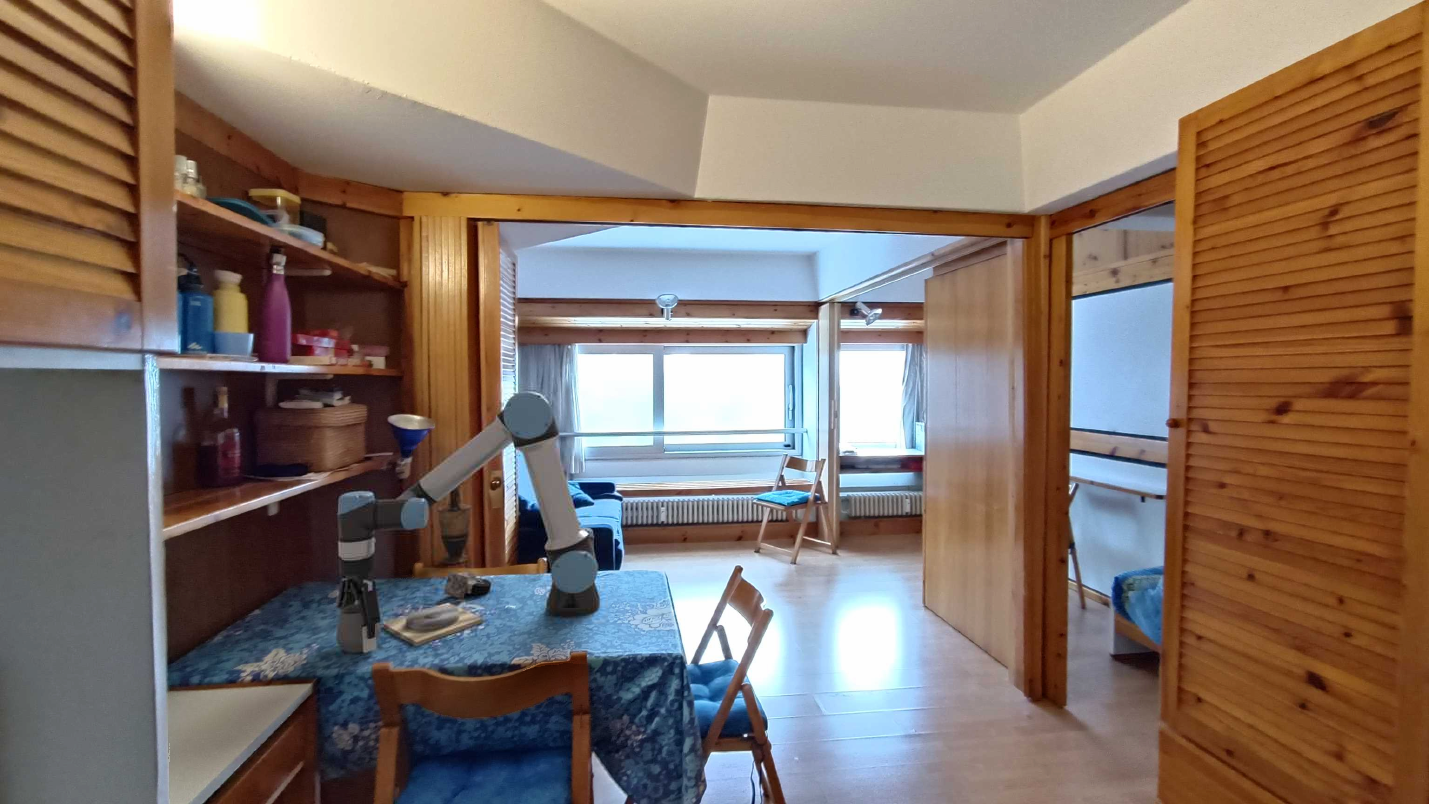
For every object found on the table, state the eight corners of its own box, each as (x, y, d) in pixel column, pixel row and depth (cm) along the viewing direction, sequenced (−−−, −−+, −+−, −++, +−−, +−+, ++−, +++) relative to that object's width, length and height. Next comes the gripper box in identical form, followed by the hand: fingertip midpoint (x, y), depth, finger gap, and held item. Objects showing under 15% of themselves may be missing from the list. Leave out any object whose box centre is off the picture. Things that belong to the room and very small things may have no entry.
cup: (333, 660, 140) (332, 618, 139) (340, 643, 148) (339, 604, 148) (379, 653, 144) (378, 612, 143) (383, 637, 152) (382, 599, 152)
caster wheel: (492, 597, 187) (476, 604, 177) (460, 587, 189) (442, 594, 179) (498, 576, 188) (481, 582, 178) (465, 566, 189) (448, 572, 179)
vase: (442, 557, 219) (440, 476, 218) (473, 555, 222) (472, 475, 220) (436, 566, 208) (434, 481, 207) (469, 564, 211) (467, 480, 210)
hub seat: (482, 622, 161) (482, 613, 161) (416, 646, 147) (415, 636, 147) (447, 606, 172) (447, 597, 172) (382, 627, 158) (382, 617, 158)
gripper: (395, 561, 141) (397, 651, 142) (353, 543, 155) (355, 626, 156) (361, 569, 135) (363, 663, 136) (320, 550, 149) (322, 636, 150)
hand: (359, 643), depth 146 cm, fingers open, 11 cm apart
